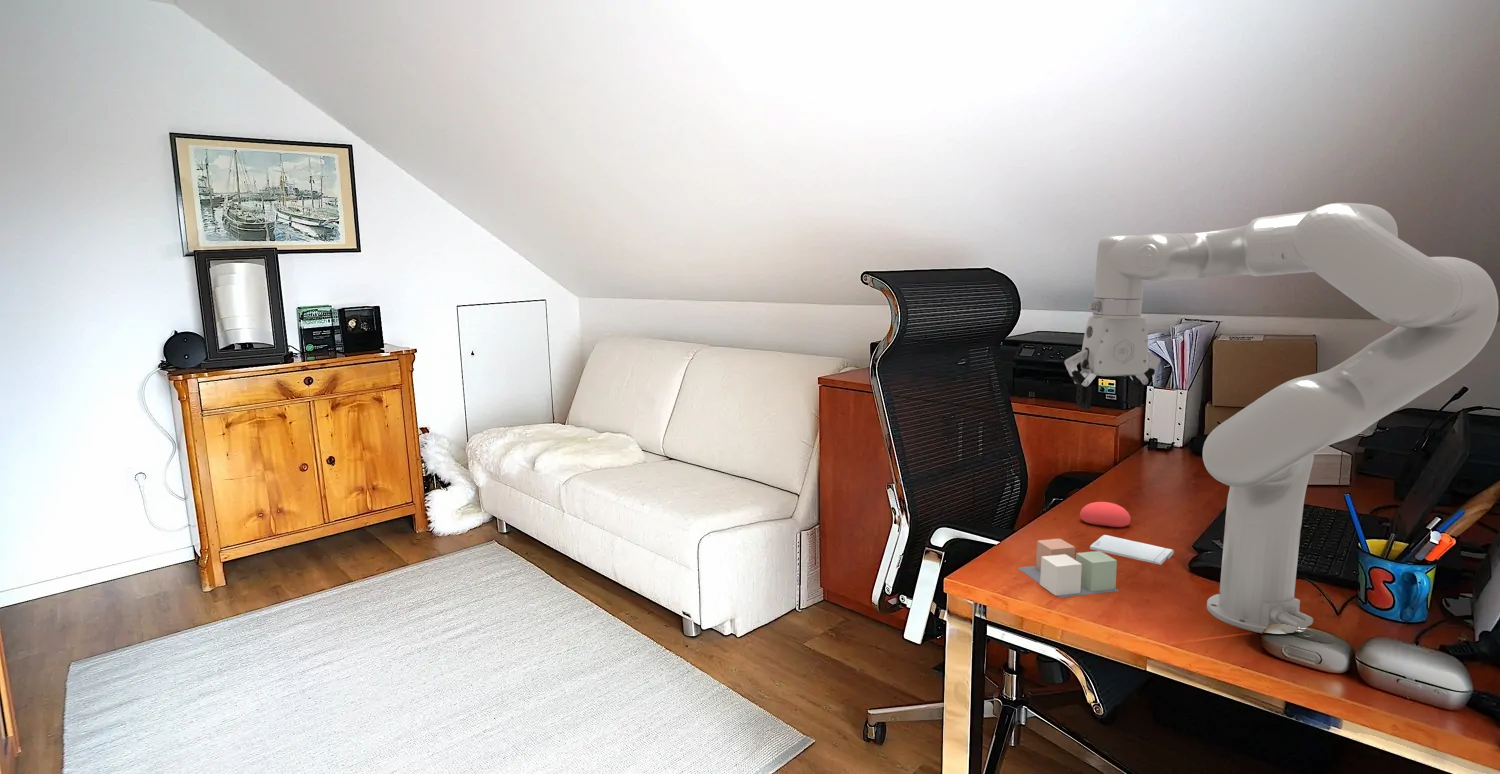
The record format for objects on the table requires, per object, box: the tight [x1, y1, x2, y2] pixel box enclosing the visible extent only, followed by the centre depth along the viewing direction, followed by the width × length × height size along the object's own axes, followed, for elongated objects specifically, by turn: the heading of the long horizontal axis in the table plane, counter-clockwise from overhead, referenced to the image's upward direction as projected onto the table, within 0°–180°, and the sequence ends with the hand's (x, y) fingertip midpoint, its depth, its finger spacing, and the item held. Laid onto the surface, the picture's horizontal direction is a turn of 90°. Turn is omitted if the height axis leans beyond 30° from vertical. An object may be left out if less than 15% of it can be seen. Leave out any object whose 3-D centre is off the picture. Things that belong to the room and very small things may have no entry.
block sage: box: [1075, 550, 1118, 592], centre depth 132 cm, size 4×4×5 cm
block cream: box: [1039, 554, 1082, 597], centre depth 131 cm, size 4×4×5 cm
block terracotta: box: [1035, 538, 1076, 571], centre depth 138 cm, size 4×4×5 cm
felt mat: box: [1017, 565, 1120, 599], centre depth 135 cm, size 13×11×1 cm
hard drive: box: [1089, 534, 1175, 565], centre depth 148 cm, size 2×8×12 cm
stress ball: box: [1079, 501, 1132, 528], centre depth 163 cm, size 5×9×6 cm, turn 52°
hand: (1109, 406), depth 137 cm, fingers open, 9 cm apart
